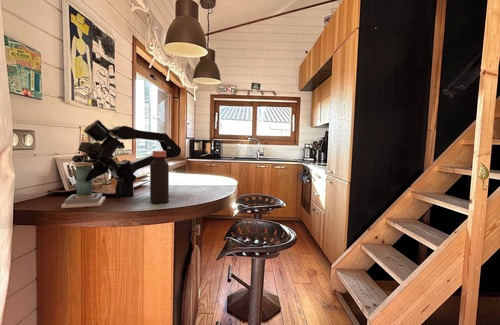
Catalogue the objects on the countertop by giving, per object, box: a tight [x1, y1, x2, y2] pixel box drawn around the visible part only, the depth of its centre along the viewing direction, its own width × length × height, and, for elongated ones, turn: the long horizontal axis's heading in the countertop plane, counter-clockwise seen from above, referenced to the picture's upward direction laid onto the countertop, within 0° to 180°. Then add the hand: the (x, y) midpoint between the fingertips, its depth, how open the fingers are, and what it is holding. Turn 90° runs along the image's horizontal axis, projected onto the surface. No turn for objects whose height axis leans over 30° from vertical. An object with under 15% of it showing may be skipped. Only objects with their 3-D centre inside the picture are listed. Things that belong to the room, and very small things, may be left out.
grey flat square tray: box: [61, 192, 106, 209], centre depth 95 cm, size 12×12×2 cm
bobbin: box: [73, 162, 95, 199], centre depth 95 cm, size 6×6×13 cm
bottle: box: [149, 150, 170, 205], centre depth 99 cm, size 7×7×20 cm
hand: (80, 180), depth 93 cm, fingers closed on bobbin, 5 cm apart
